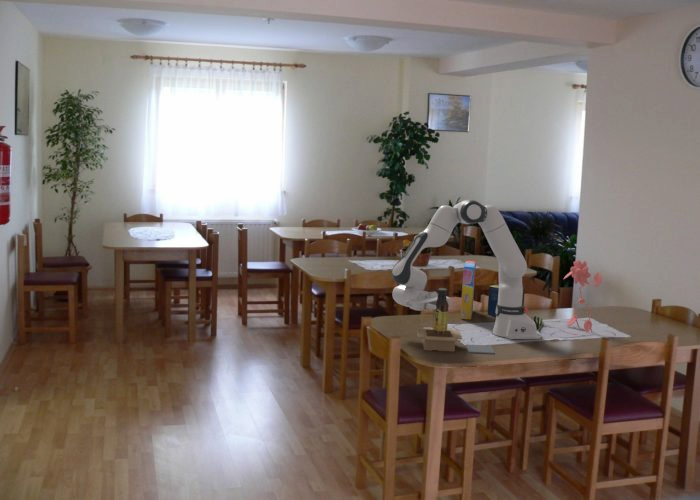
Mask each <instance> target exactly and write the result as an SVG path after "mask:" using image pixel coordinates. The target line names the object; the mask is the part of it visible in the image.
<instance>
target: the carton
mask: <svg viewBox="0 0 700 500" xmlns="http://www.w3.org/2000/svg"><path fill="white" fill-rule="evenodd" d="M415 330H416V334H417V337H418V338H421V339H422V340H421V341H422V347H423V350H424V351H432V350H438V352H455V348H456V342H457V340H463V336H462V334H461V332H460V330H458V329H453V328H448V327H447V333H446V334H436V333H434V332H433V327H430V326H427V327H426V326H425V327H424V326H422V328H416V329H415Z"/></svg>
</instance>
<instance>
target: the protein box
mask: <svg viewBox="0 0 700 500" xmlns="http://www.w3.org/2000/svg"><path fill="white" fill-rule="evenodd" d="M488 289H489V290H488V299H487V300H488V305H487V316H491V317H494V318H496V307H497V303H498V292H499V283H498V284H493V285H489V288H488ZM525 289H526V288H523V293H522V306H524V304H525V294H526V293H525V292H526V291H525ZM524 307H525V306H524Z"/></svg>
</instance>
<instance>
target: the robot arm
mask: <svg viewBox="0 0 700 500" xmlns="http://www.w3.org/2000/svg"><path fill="white" fill-rule="evenodd" d="M458 224H463V225H472V224H478V225H479V226H480V228H481V230H482V232H483V234H484V236H485V238H486V240H487V243H488V245H489V246H490V248H491V250H492V253H493V254H494V256H495V258H496V259H497V261H498V284H499V292H498V303H497V307H496V317H495V322H494V326H493V329H492V331H491V332H492V334H493V335H495V336H497V337H501V338H505V339H509V340H540V339H541V338H542V334H541V333H540V331H538V329H537V324H536V322H535V320H533V319H532V318H531V317H530V316H529V315H527V313H528V312H529V309H528V307H525V306H522V293H523V289H524V287H523V277H524V275H525V274H526V273H527V269H528V264H527V261H526V259H525V257H524V255H523V254H522V252H521V250H520V248H519V246H518V244H517V243H516V241H515V238H514V237H513V235H512V233H511V231H510V229H509V227H508V225H507V222H506V221H505V219H504V217H503V215H502V214H501V212H500V210H499V209H498V208H497V207H496V206H495V205H493V204H485V205H483V204H482V203H480V202H479V201H477V200H473V199H464V200H460V201H458V202H456V203H455V204H454V205H452V206H451V205H446V204H445V205H441V206H439V207H438V209H437V210H436V212H435V213H434V214H433V216H432V217H431V220H430V221H429V223H428V225H427V227H425V229H424V230H423V231H421V232H419V233H418V234H416V236H415V237H414V238H413V240H412V241H411V242H410V244H409V245H408V247H407V249H406V250H405V252H404V253H403V255H402V256H401V257H400V259H399V260H398V261H397V262H396V263H395V265H393V267H392V269H391V277H392V281H393V282H394V283H395V284H399V285H397V286H395V287H394V288H393V290H392V294H391V295H392V299H393V300H394V302H396V304H398V305H401V306H404V307H407V308H409V309H411V310H414V311H418V312H419V311H420V312H421V311H426V310H433V311H434V310H435V309H437V307H438V306H437V305H435V303H436V301H437V298H438V292H436V291H433V290H431V291H426V290H425V289H426V287H427V284H428V275H427V273H426V272H425V271H423V270H421V269H419V268H417V267H415V266H413V264H414V262H415V261H416V259H417V258H418V256H419V255H420V253H421V252H422V251H423V250H424V249H426V248H438V247H441V246H442V247H443V246H444V245H445V244H446V243H447V242H448V240H449V239H450V237H451V234H453V233H452V232H453V231H454V228H455V227H456V226H457V225H458ZM446 298H447V299H446V300H447V302H448V305H449V306H448V308H450V305H451V298H450V297H449V296H447V295H446Z"/></svg>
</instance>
